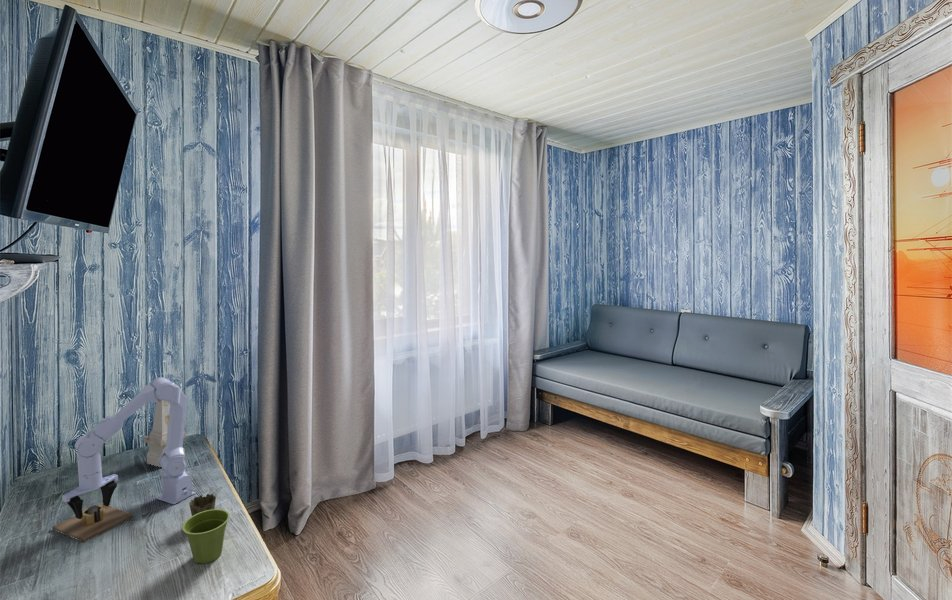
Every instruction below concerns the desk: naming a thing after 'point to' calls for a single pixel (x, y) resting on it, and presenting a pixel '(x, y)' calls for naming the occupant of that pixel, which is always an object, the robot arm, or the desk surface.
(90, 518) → the brass collar
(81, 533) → the post stand
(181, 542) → the desk surface
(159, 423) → the miniature monument
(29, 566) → the desk surface
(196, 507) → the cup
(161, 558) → the desk surface
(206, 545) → the plant pot
